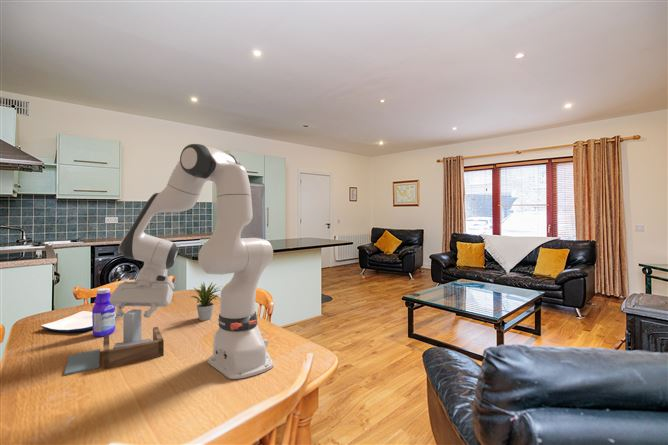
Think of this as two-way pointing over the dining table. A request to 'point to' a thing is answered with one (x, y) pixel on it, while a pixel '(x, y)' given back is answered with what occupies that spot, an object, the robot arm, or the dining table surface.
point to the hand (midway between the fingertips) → (132, 316)
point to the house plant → (205, 301)
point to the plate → (72, 323)
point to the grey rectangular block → (132, 325)
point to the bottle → (103, 314)
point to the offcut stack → (130, 343)
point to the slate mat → (82, 362)
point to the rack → (133, 351)
